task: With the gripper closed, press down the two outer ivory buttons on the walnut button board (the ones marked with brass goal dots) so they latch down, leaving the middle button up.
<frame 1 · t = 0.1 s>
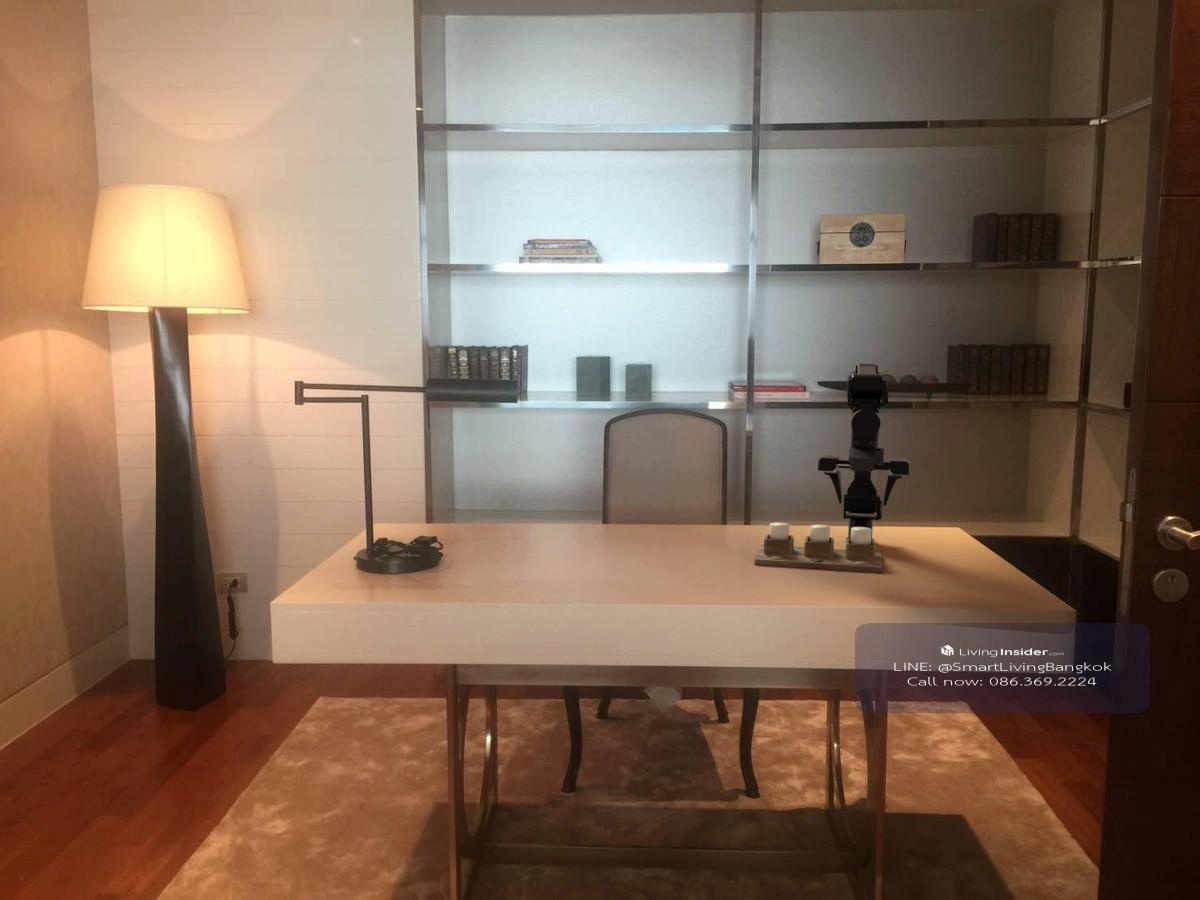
hand: (862, 504, 203), 14 cm above the table, fingers open, 9 cm apart
button a: (860, 537, 210), point 5 cm above the table, slide at 0.0 cm
board: (818, 560, 212), on the table
button c: (779, 533, 215), point 5 cm above the table, slide at 0.0 cm
button b: (819, 535, 213), point 5 cm above the table, slide at 0.0 cm
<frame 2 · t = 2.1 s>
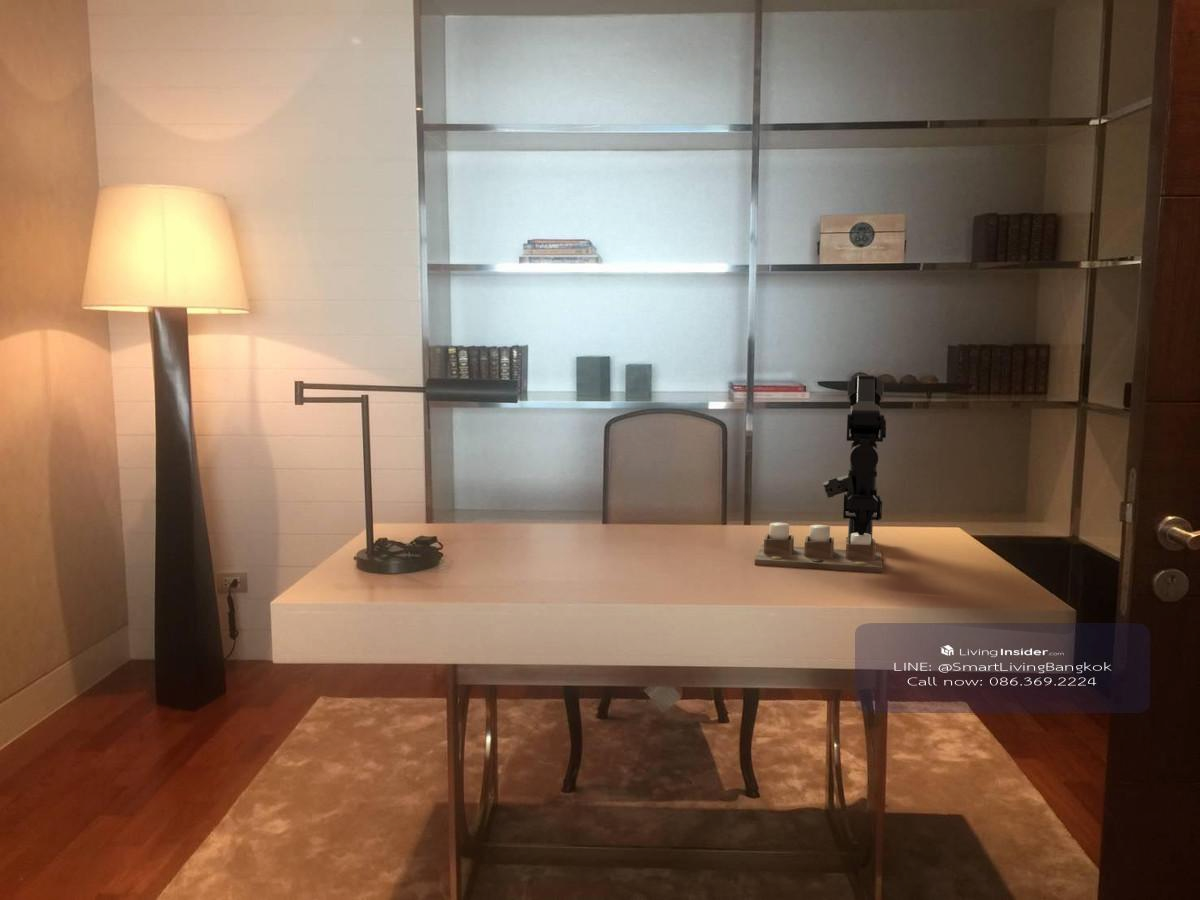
hand: (861, 534, 210), 6 cm above the table, fingers closed, pressing on button a
button a: (860, 543, 210), point 4 cm above the table, slide at 1.3 cm, touching gripper
everything else where it was.
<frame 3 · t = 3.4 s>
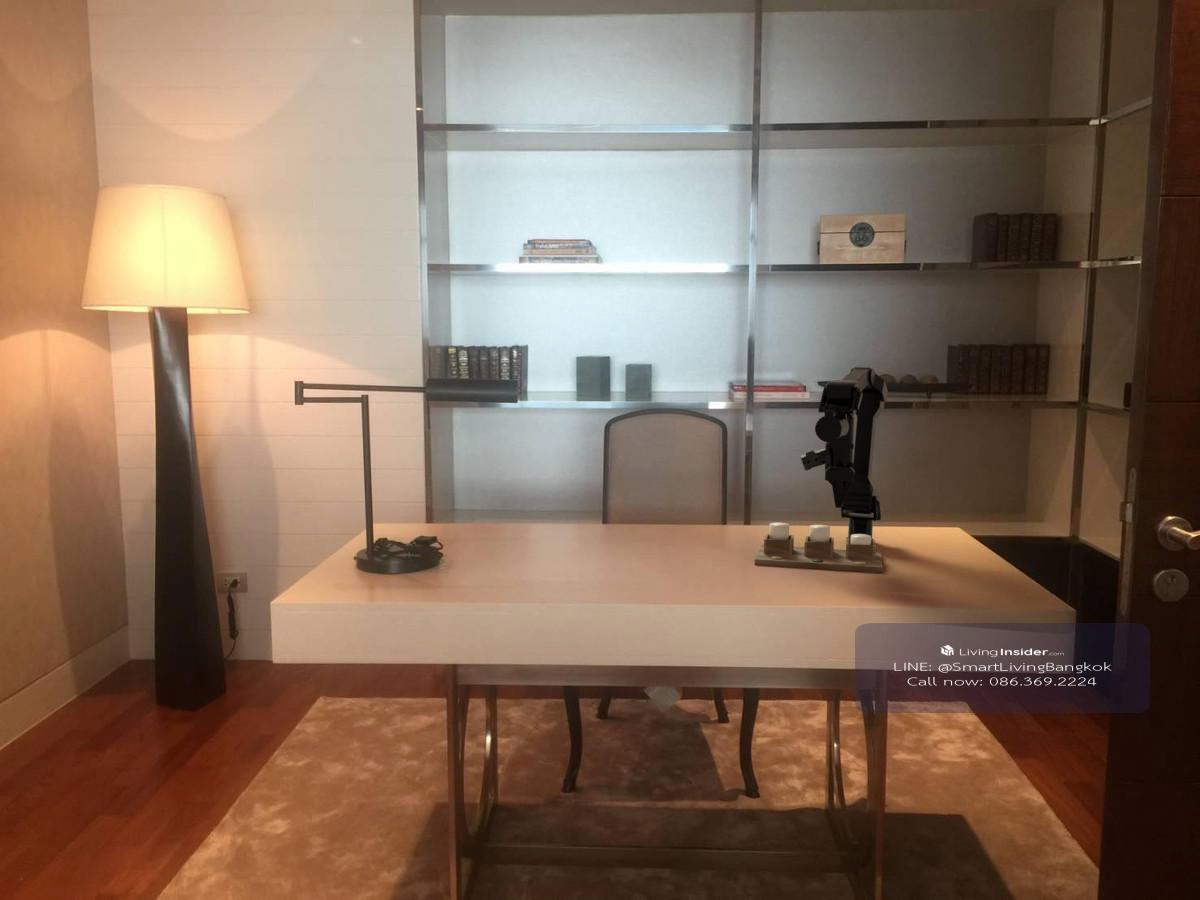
hand: (838, 507, 211), 12 cm above the table, fingers closed
button a: (860, 544, 210), point 4 cm above the table, slide at 1.6 cm
everything else where it was.
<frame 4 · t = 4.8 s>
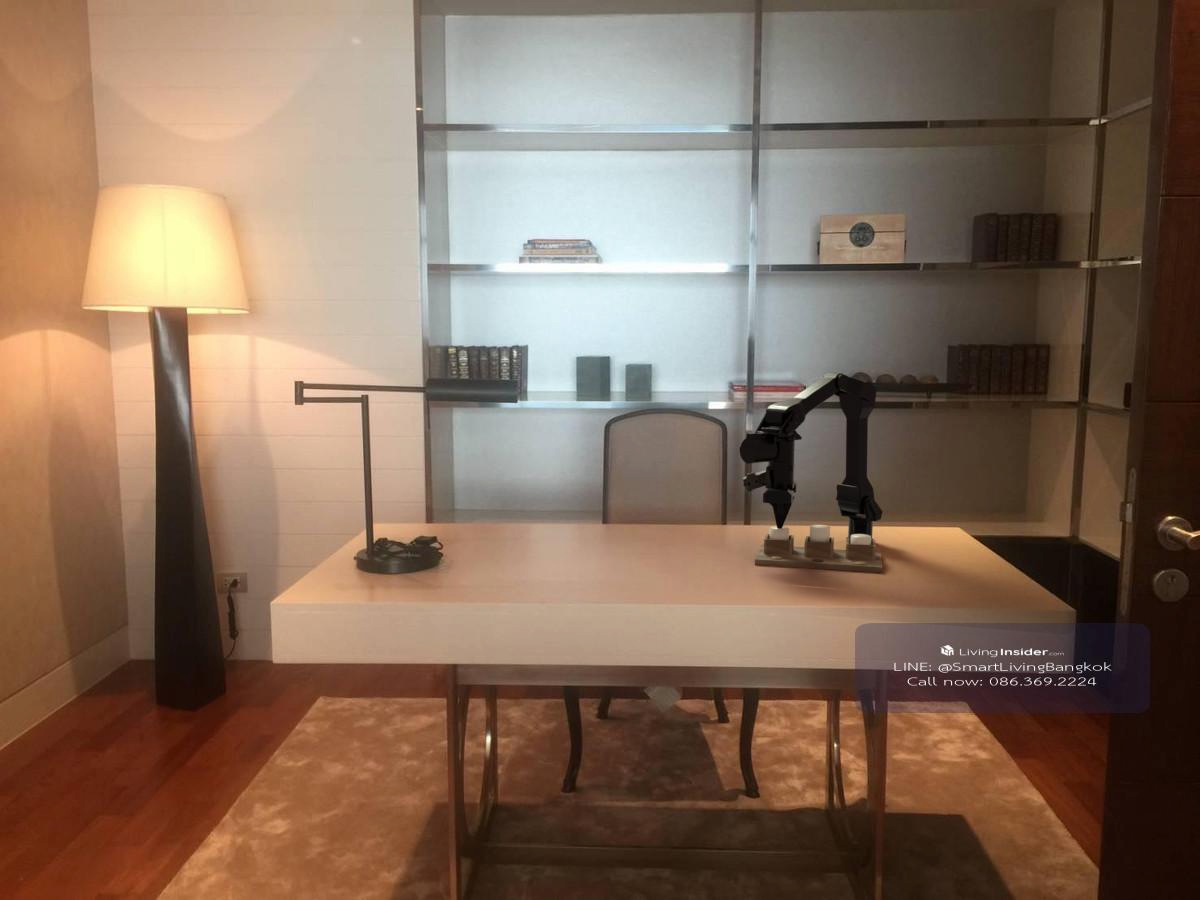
hand: (779, 528, 215), 7 cm above the table, fingers closed, pressing on button c
button c: (779, 536, 215), point 5 cm above the table, slide at 0.9 cm, touching gripper
everything else where it was.
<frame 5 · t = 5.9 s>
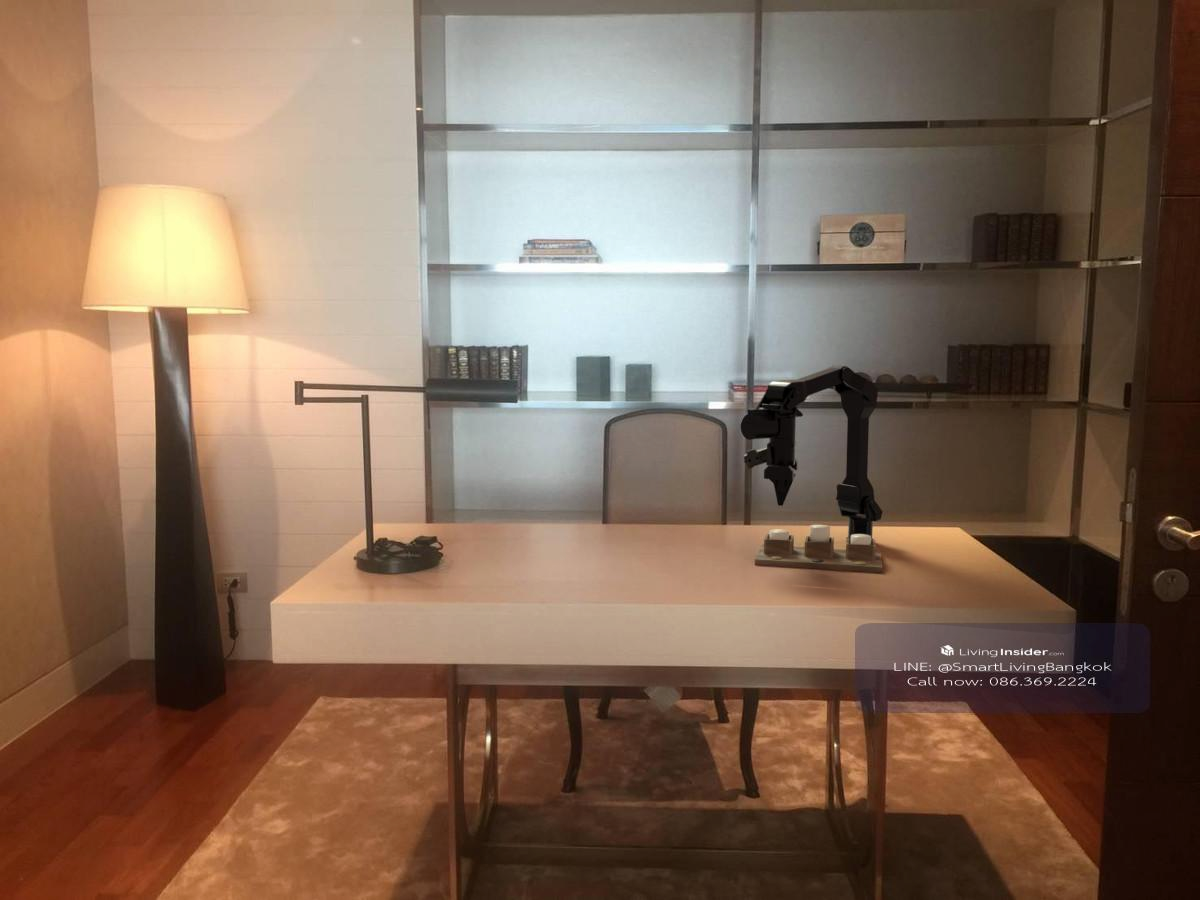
hand: (780, 505, 214), 12 cm above the table, fingers closed
button c: (779, 540, 215), point 4 cm above the table, slide at 1.6 cm
everything else where it was.
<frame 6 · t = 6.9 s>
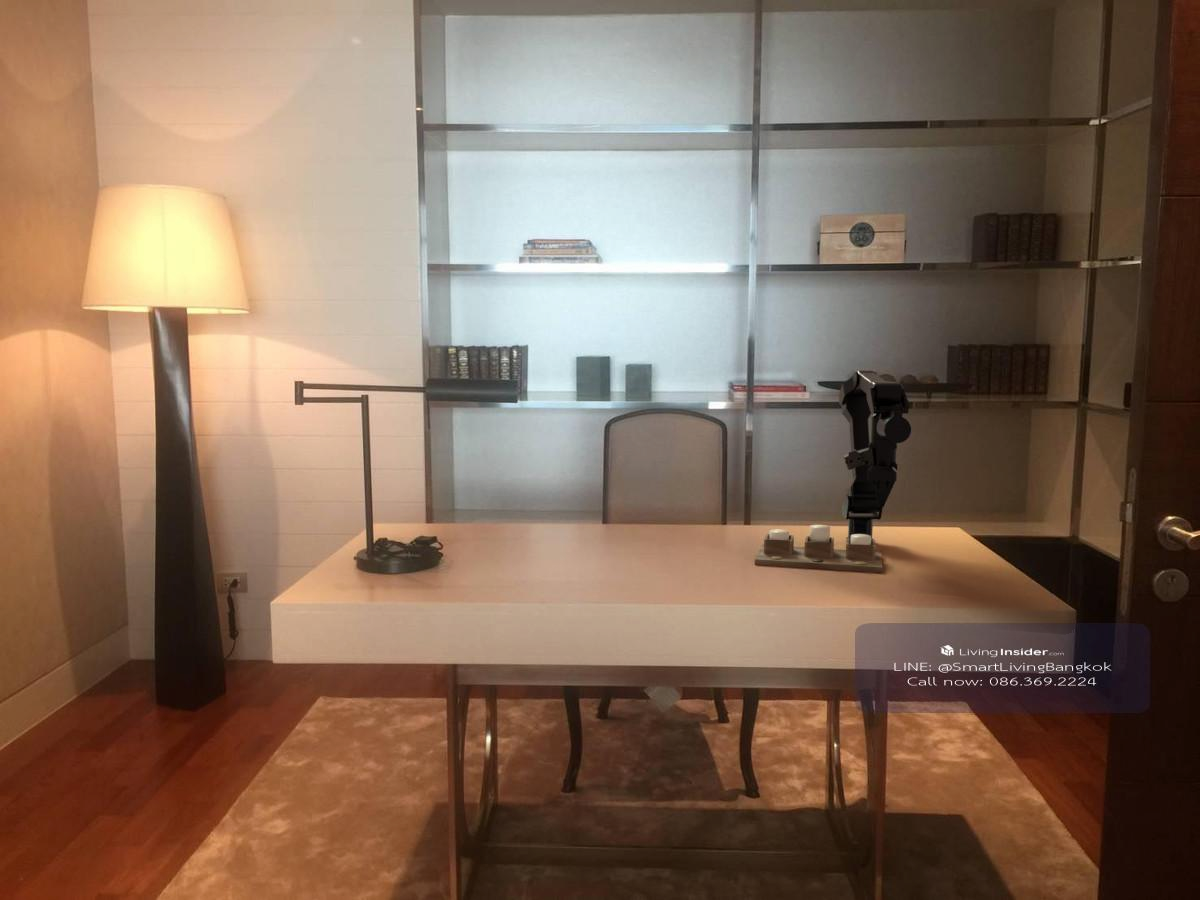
hand: (881, 506, 212), 12 cm above the table, fingers closed
nothing on the table moved.
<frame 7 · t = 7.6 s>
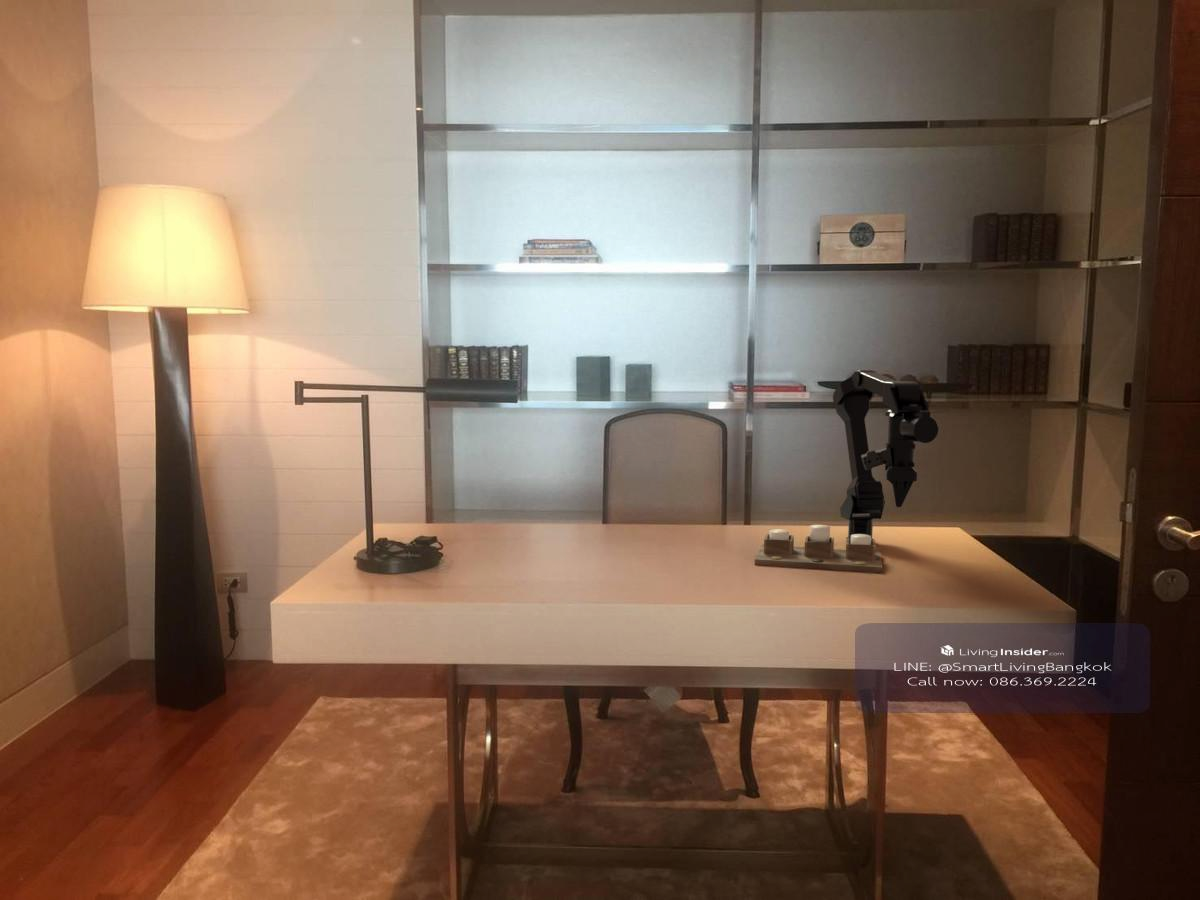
hand: (898, 506, 212), 12 cm above the table, fingers closed
nothing on the table moved.
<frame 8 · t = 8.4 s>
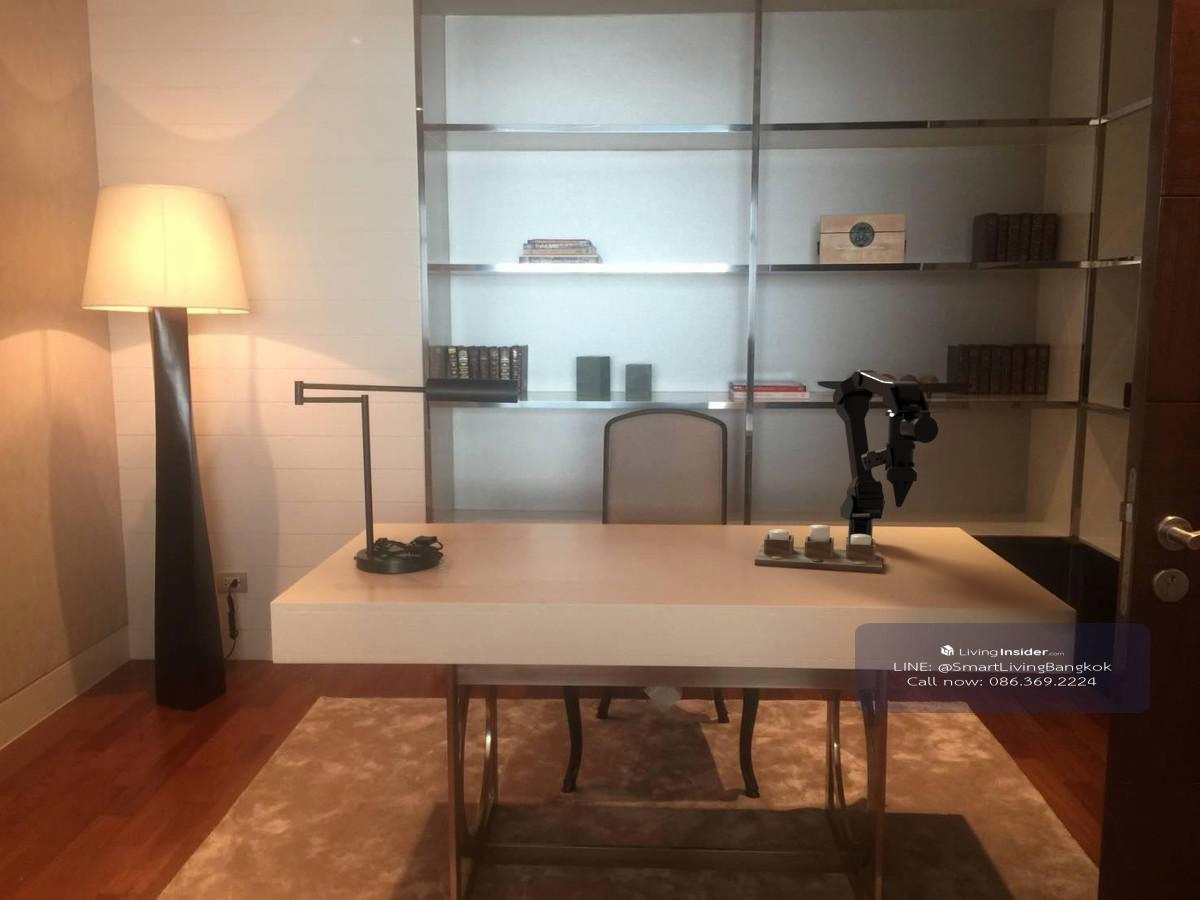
hand: (898, 506, 212), 12 cm above the table, fingers closed
nothing on the table moved.
at the end: button a slide at 1.6 cm; button c slide at 1.6 cm; button b slide at 0.0 cm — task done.
